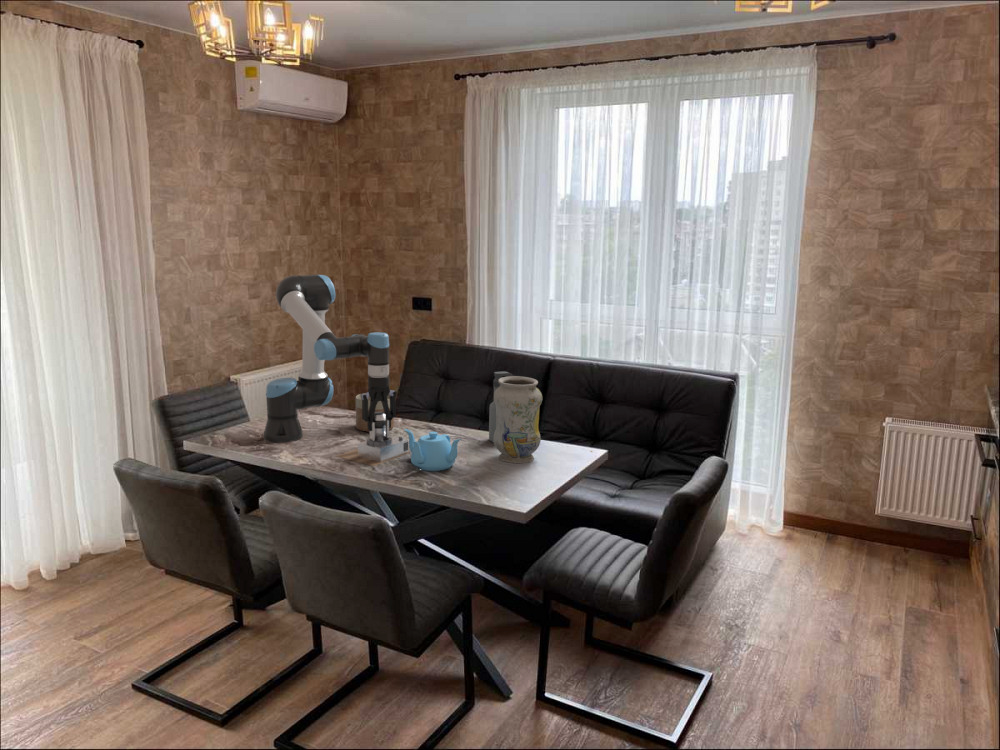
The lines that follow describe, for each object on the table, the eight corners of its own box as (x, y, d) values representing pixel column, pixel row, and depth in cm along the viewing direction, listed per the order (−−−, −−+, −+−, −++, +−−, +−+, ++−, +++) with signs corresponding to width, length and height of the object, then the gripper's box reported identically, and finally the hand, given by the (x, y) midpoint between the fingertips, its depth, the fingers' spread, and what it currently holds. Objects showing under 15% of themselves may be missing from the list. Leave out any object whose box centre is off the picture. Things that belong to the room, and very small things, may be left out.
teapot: (412, 475, 260) (412, 440, 257) (404, 459, 277) (404, 427, 275) (460, 471, 264) (461, 438, 262) (450, 456, 282) (450, 424, 280)
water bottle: (507, 436, 311) (508, 369, 306) (518, 442, 302) (519, 373, 297) (485, 438, 307) (486, 371, 301) (495, 444, 298) (496, 375, 293)
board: (335, 459, 276) (335, 456, 275) (373, 446, 292) (373, 443, 292) (374, 469, 265) (373, 465, 265) (410, 455, 282) (410, 452, 281)
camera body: (357, 456, 275) (357, 439, 274) (385, 447, 288) (385, 430, 286) (380, 462, 269) (380, 444, 268) (408, 452, 282) (408, 435, 280)
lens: (370, 439, 276) (369, 412, 274) (382, 437, 279) (382, 410, 277) (376, 442, 272) (375, 415, 270) (389, 440, 275) (388, 413, 273)
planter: (390, 433, 311) (390, 401, 309) (352, 432, 311) (352, 400, 309) (396, 423, 327) (396, 392, 324) (360, 422, 327) (359, 391, 324)
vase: (545, 465, 274) (547, 384, 268) (496, 466, 271) (498, 385, 265) (534, 450, 291) (537, 374, 285) (489, 452, 288) (490, 375, 282)
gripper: (359, 380, 263) (360, 444, 267) (406, 375, 273) (406, 437, 278) (351, 376, 269) (352, 439, 273) (396, 371, 279) (396, 432, 284)
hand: (379, 437), depth 275 cm, fingers closed on lens, 5 cm apart
